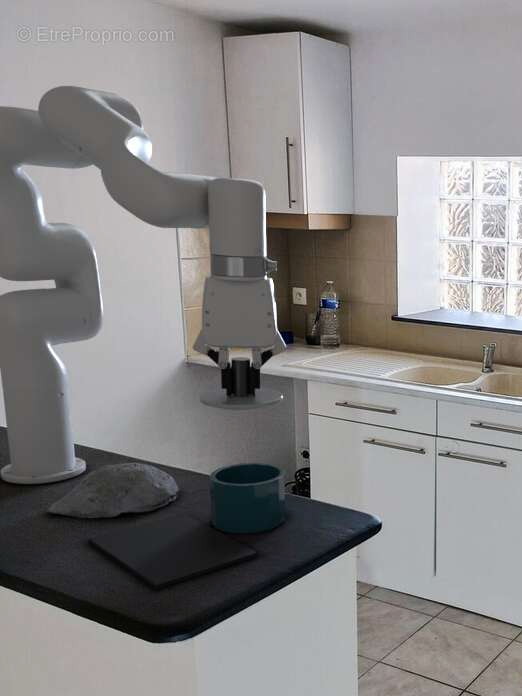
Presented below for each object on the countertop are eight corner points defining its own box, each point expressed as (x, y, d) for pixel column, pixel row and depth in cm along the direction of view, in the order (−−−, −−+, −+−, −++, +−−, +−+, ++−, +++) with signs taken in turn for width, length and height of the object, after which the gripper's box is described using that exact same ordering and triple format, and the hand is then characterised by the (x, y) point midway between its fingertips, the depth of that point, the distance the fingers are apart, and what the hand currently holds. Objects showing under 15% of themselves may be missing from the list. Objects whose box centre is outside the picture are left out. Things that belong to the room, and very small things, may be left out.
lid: (203, 394, 122) (202, 351, 120) (283, 393, 125) (282, 351, 123) (195, 413, 111) (193, 366, 109) (282, 412, 114) (281, 367, 113)
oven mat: (88, 542, 112) (88, 538, 111) (185, 517, 122) (185, 513, 122) (156, 589, 99) (156, 585, 99) (257, 556, 110) (257, 552, 110)
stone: (116, 458, 137) (191, 445, 133) (128, 500, 138) (202, 489, 134) (33, 485, 120) (116, 472, 116) (46, 533, 121) (129, 522, 117)
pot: (215, 509, 126) (213, 464, 124) (285, 505, 129) (284, 461, 127) (208, 535, 116) (206, 486, 114) (285, 531, 119) (283, 483, 117)
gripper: (297, 268, 119) (298, 387, 123) (180, 263, 115) (185, 388, 119) (298, 272, 112) (298, 399, 116) (173, 268, 108) (178, 400, 112)
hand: (241, 392), depth 118 cm, fingers closed on lid, 2 cm apart
